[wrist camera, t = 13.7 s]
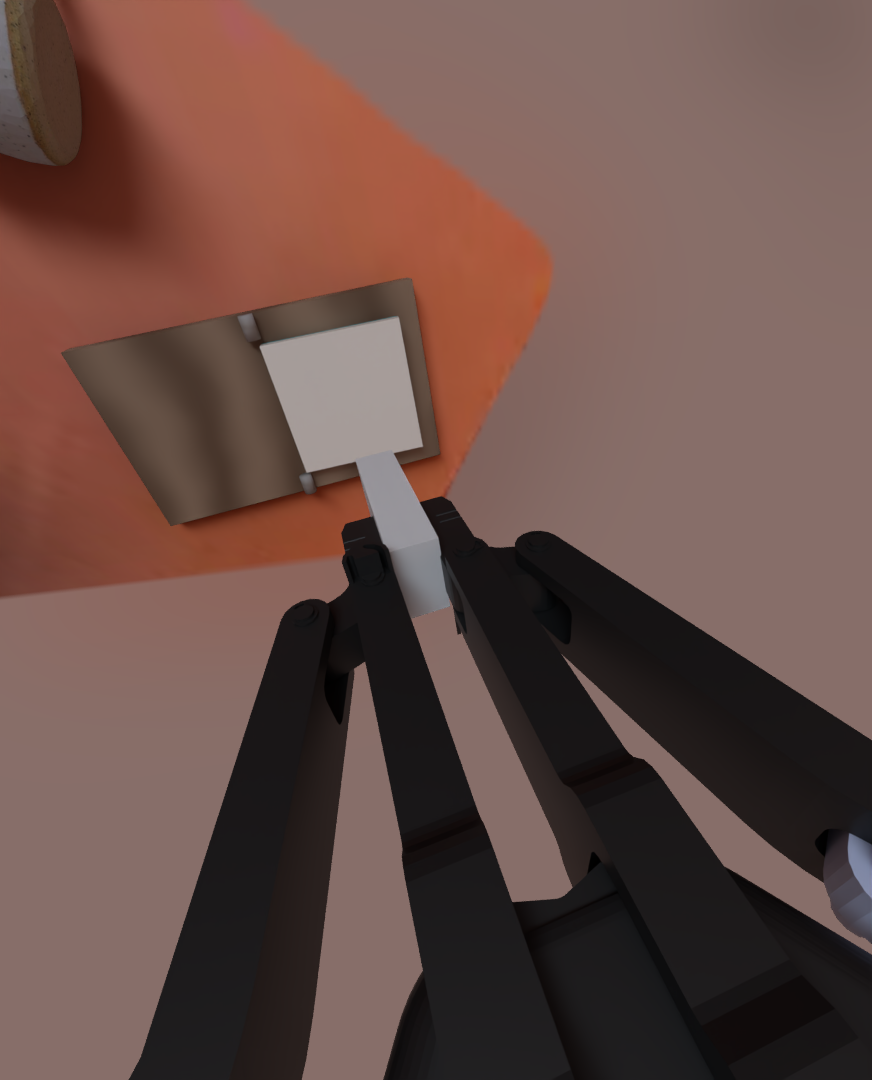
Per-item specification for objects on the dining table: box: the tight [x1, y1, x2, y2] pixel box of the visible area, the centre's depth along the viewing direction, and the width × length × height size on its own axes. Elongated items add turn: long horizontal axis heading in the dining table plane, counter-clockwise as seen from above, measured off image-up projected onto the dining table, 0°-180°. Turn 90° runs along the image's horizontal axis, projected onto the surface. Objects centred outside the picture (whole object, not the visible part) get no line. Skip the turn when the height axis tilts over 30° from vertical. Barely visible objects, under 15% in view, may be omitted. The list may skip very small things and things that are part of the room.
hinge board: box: [61, 278, 440, 526], centre depth 34 cm, size 24×14×2 cm, turn 99°
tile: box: [260, 316, 423, 473], centre depth 34 cm, size 10×10×1 cm
